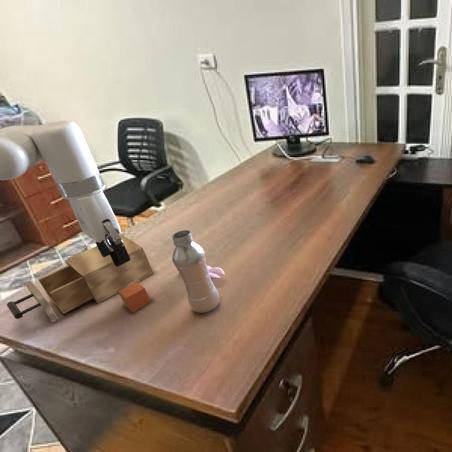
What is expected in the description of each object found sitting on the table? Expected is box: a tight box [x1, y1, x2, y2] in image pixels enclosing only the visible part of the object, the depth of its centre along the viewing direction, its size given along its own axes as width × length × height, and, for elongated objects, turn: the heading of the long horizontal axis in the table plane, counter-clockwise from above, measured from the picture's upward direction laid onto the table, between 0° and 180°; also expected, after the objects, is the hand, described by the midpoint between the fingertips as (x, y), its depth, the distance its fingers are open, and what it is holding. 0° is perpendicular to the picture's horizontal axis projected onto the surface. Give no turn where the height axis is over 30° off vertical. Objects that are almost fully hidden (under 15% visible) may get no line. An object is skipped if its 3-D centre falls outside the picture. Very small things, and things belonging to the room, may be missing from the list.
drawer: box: [6, 265, 94, 323], centre depth 85 cm, size 18×11×7 cm, turn 141°
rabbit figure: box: [178, 265, 225, 279], centre depth 91 cm, size 6×6×15 cm
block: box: [118, 282, 151, 313], centre depth 85 cm, size 4×4×4 cm
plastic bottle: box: [171, 229, 220, 314], centre depth 78 cm, size 6×7×20 cm
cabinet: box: [64, 234, 154, 304], centre depth 93 cm, size 15×13×9 cm
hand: (116, 257), depth 79 cm, fingers open, 6 cm apart
